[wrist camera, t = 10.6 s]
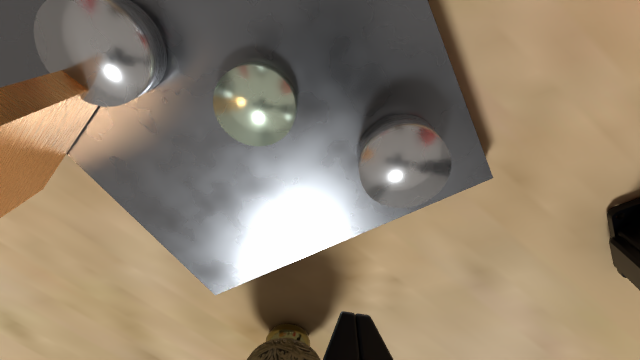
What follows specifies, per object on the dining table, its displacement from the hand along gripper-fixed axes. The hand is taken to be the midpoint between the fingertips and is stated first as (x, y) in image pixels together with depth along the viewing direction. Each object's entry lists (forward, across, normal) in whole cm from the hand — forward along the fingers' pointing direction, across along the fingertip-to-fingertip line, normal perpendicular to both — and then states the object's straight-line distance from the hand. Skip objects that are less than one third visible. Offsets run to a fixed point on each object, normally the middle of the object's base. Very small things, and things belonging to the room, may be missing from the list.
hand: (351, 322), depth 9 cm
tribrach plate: (+11, +6, -2) cm, 13 cm away
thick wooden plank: (+9, +14, -1) cm, 17 cm away
